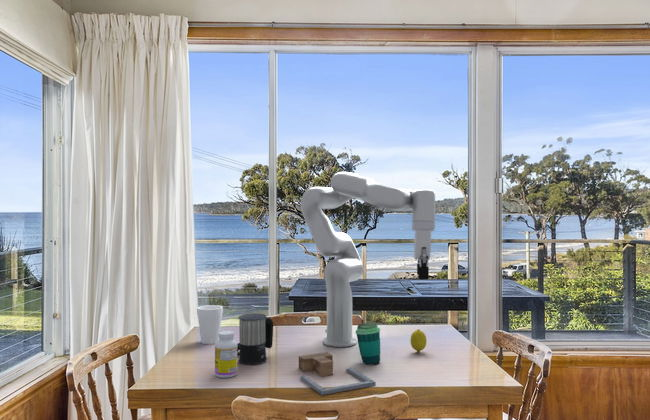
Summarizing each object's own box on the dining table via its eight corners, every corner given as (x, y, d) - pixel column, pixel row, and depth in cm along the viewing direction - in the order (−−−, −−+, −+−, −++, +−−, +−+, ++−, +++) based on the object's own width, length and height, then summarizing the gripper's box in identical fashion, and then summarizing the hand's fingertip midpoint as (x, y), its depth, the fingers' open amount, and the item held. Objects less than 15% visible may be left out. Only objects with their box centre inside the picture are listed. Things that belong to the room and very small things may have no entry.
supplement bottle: (216, 371, 154) (216, 329, 154) (238, 371, 154) (238, 329, 154) (213, 379, 147) (213, 335, 147) (236, 378, 147) (236, 334, 148)
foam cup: (224, 343, 186) (224, 308, 186) (198, 346, 182) (198, 310, 182) (220, 337, 195) (220, 304, 195) (196, 339, 191) (196, 305, 191)
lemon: (426, 354, 172) (426, 331, 172) (410, 353, 173) (410, 330, 173) (426, 350, 178) (426, 327, 178) (410, 349, 179) (410, 327, 179)
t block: (298, 368, 157) (298, 356, 157) (326, 364, 161) (326, 352, 161) (312, 377, 148) (312, 364, 148) (341, 373, 152) (341, 359, 153)
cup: (373, 367, 158) (373, 329, 158) (350, 363, 162) (351, 326, 162) (384, 361, 165) (384, 324, 165) (362, 357, 169) (362, 321, 169)
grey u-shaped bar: (300, 379, 147) (300, 375, 147) (350, 370, 155) (350, 367, 155) (321, 395, 134) (321, 391, 134) (375, 385, 142) (375, 381, 142)
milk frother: (259, 366, 159) (259, 319, 159) (215, 362, 164) (215, 316, 164) (276, 354, 173) (276, 311, 173) (235, 350, 177) (235, 308, 177)
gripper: (411, 225, 177) (410, 273, 177) (413, 227, 160) (412, 280, 160) (432, 225, 176) (431, 274, 176) (437, 227, 159) (436, 281, 159)
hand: (422, 277), depth 168 cm, fingers open, 9 cm apart
